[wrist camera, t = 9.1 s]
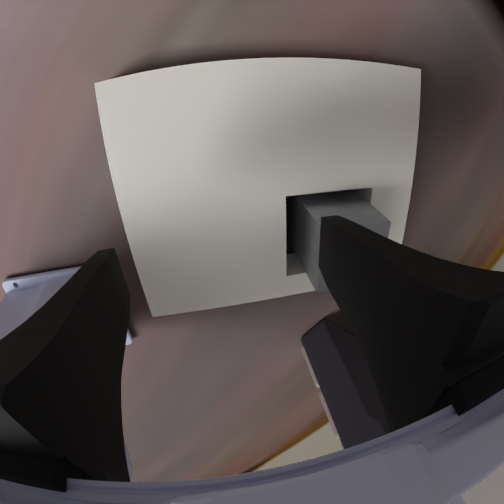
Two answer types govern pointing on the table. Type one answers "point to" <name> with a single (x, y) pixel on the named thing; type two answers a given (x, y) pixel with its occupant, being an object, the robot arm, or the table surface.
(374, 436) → the dark grey rectangular block
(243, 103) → the slot board
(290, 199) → the pin
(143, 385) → the table surface
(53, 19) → the table surface
